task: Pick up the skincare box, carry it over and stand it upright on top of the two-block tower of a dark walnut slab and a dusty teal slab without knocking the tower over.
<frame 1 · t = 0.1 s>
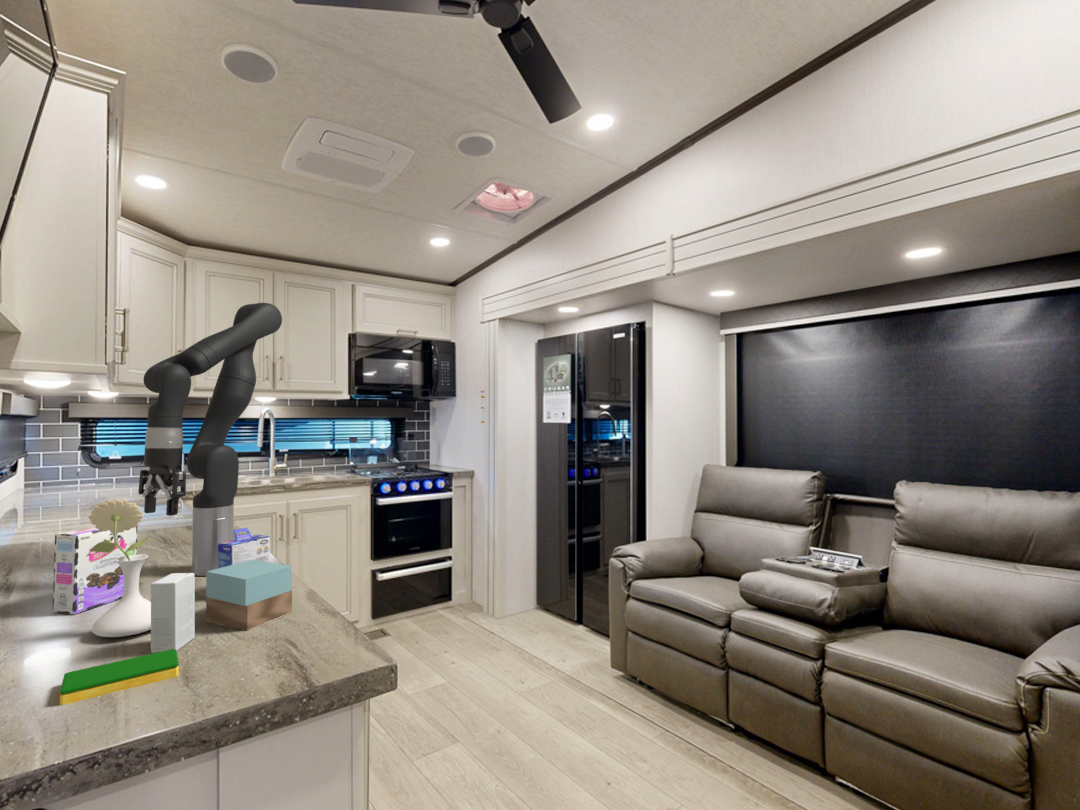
hand: (160, 514, 128), 17 cm above the worktop, tool pointing down, fingers open, 8 cm apart
tower base block: (249, 618, 107), on the worktop
tower top block: (249, 593, 108), point 5 cm above the worktop
flower in vase: (125, 632, 100), on the worktop
dish sponge: (122, 685, 81), on the worktop
ink cartridge box: (244, 593, 123), on the worktop
skincare box: (172, 647, 94), on the worktop
candy box: (96, 604, 116), on the worktop
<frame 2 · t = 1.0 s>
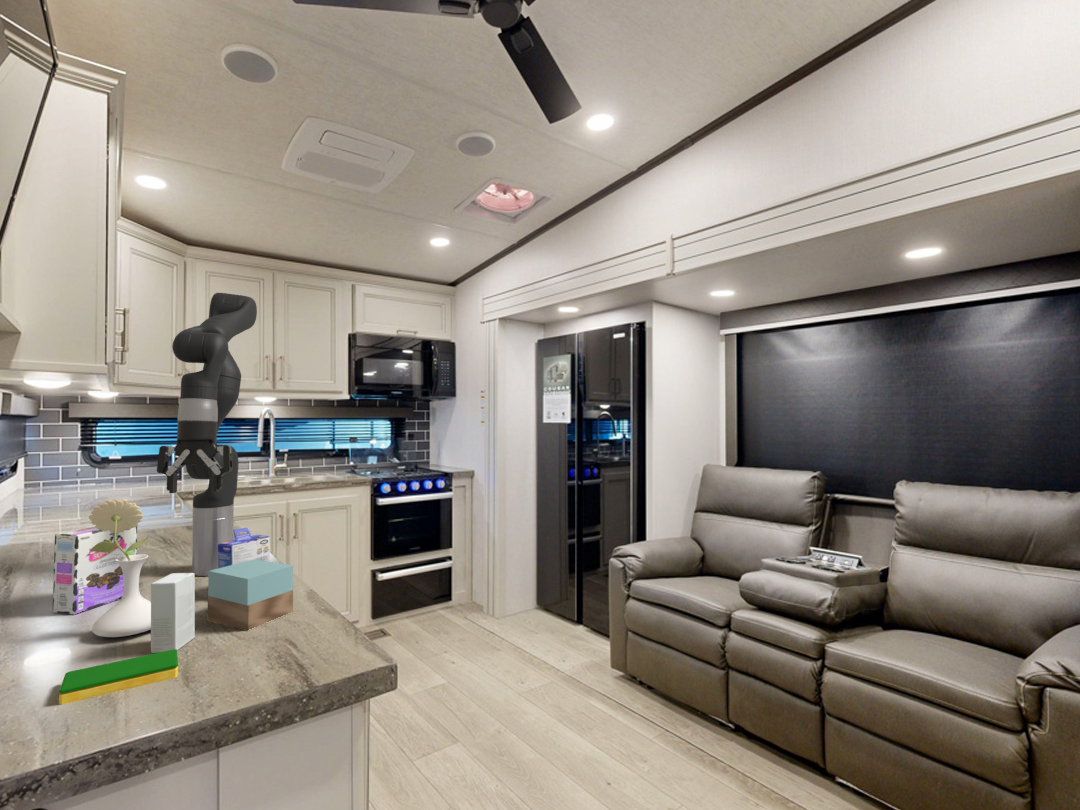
hand: (194, 492, 118), 24 cm above the worktop, tool pointing down, fingers open, 8 cm apart
tower base block: (250, 618, 108), on the worktop, touching tower top block
tower top block: (251, 593, 108), point 5 cm above the worktop, touching tower base block
everything else where it was.
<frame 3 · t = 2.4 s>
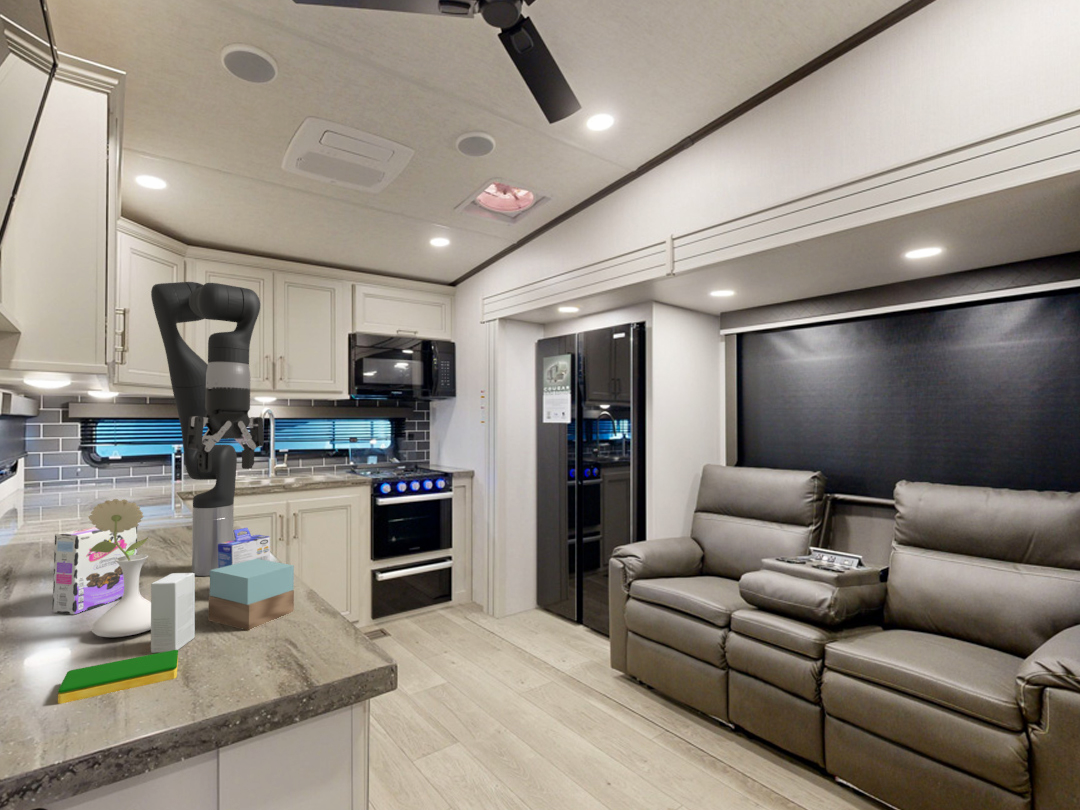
hand: (227, 470, 103), 30 cm above the worktop, tool pointing down, fingers open, 8 cm apart
nothing on the worktop moved.
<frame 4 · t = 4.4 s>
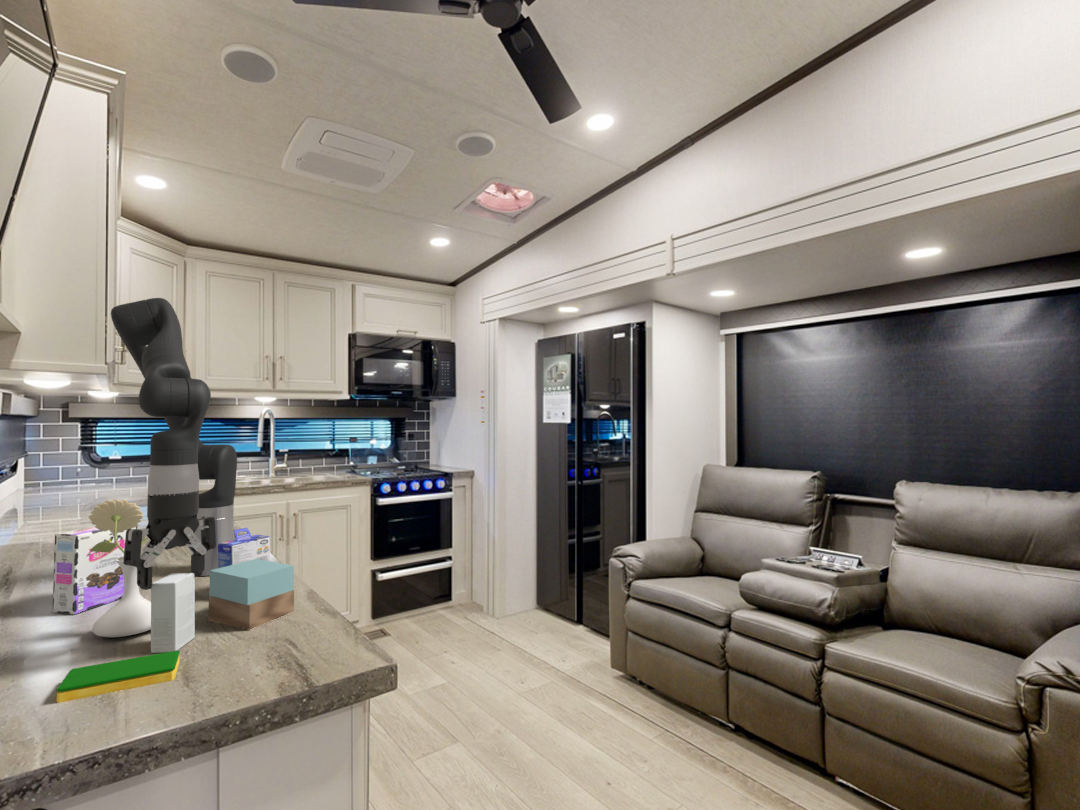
hand: (172, 581, 94), 11 cm above the worktop, tool pointing down, fingers open, 8 cm apart
nothing on the worktop moved.
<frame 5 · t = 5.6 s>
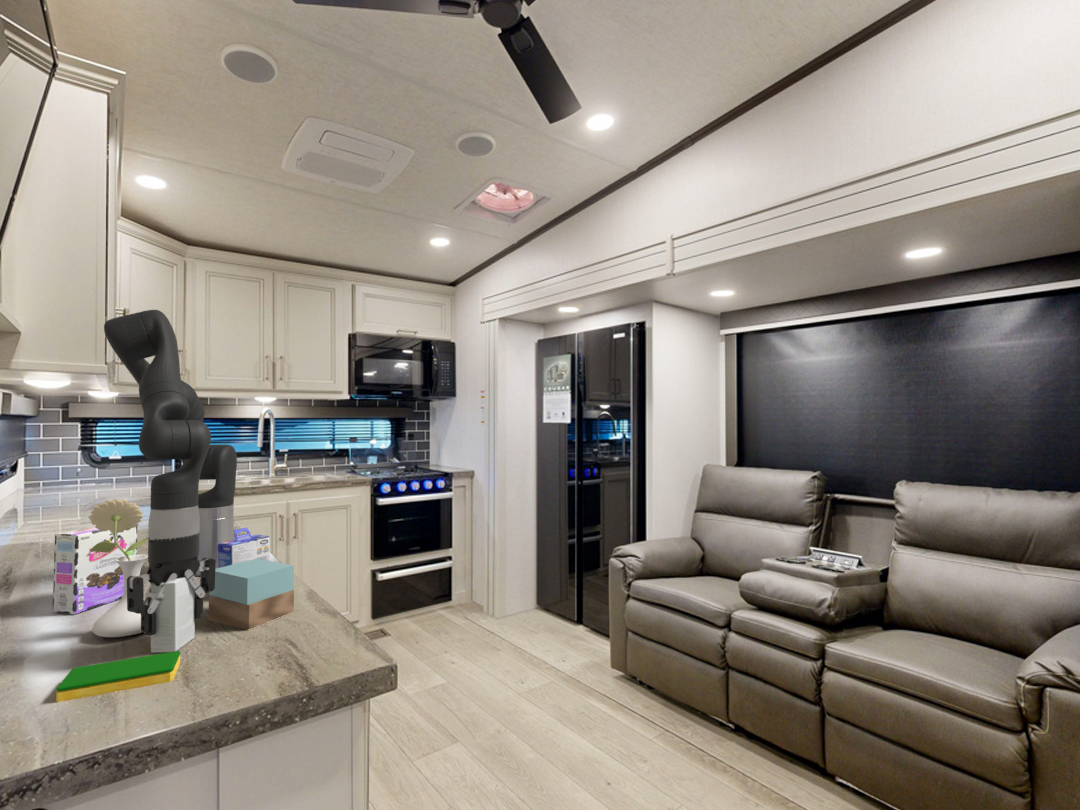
hand: (173, 626, 94), 3 cm above the worktop, tool pointing down, fingers closed on skincare box, 7 cm apart
skincare box: (172, 646, 94), on the worktop, touching gripper
everything else where it was.
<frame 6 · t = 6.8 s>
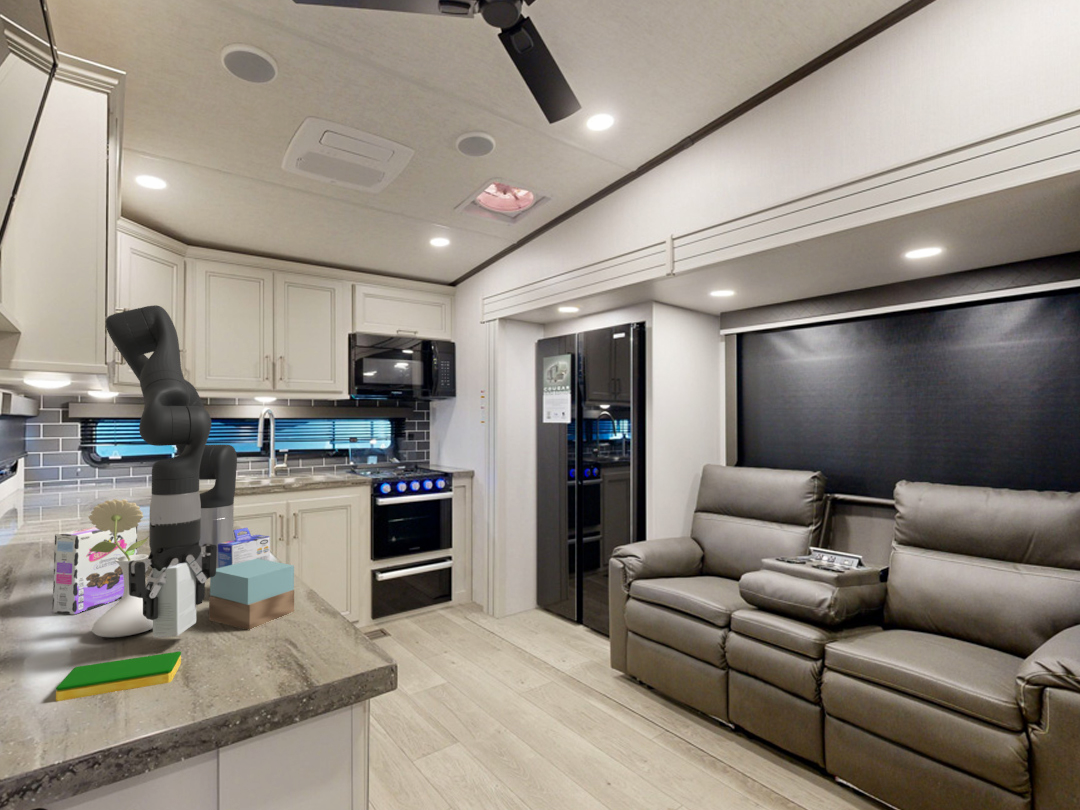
hand: (174, 610, 94), 6 cm above the worktop, tool pointing down, fingers closed on skincare box, 7 cm apart
skincare box: (174, 631, 94), point 2 cm above the worktop, touching gripper
everything else where it was.
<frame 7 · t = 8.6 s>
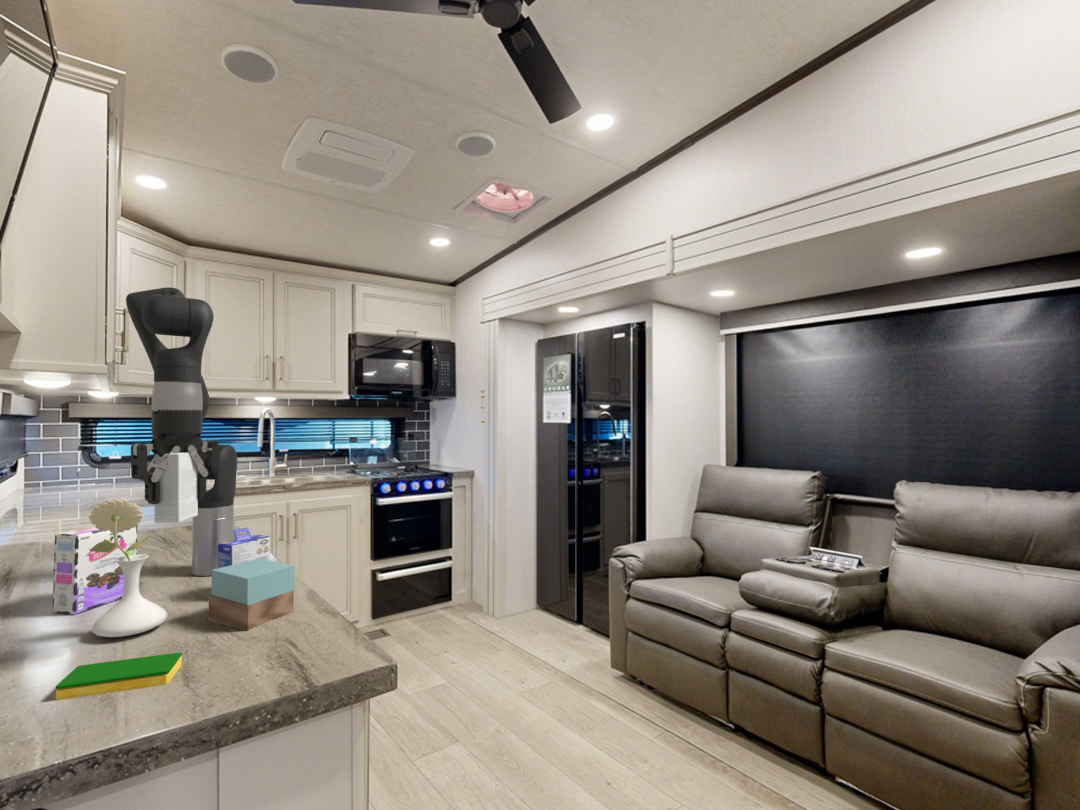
hand: (176, 500, 95), 26 cm above the worktop, tool pointing down, fingers closed on skincare box, 7 cm apart
skincare box: (176, 520, 95), point 22 cm above the worktop, touching gripper
when the fingers open (15 cm above the worktop, at t = 12.0 s): skincare box drops 1 cm, resting on tower top block.
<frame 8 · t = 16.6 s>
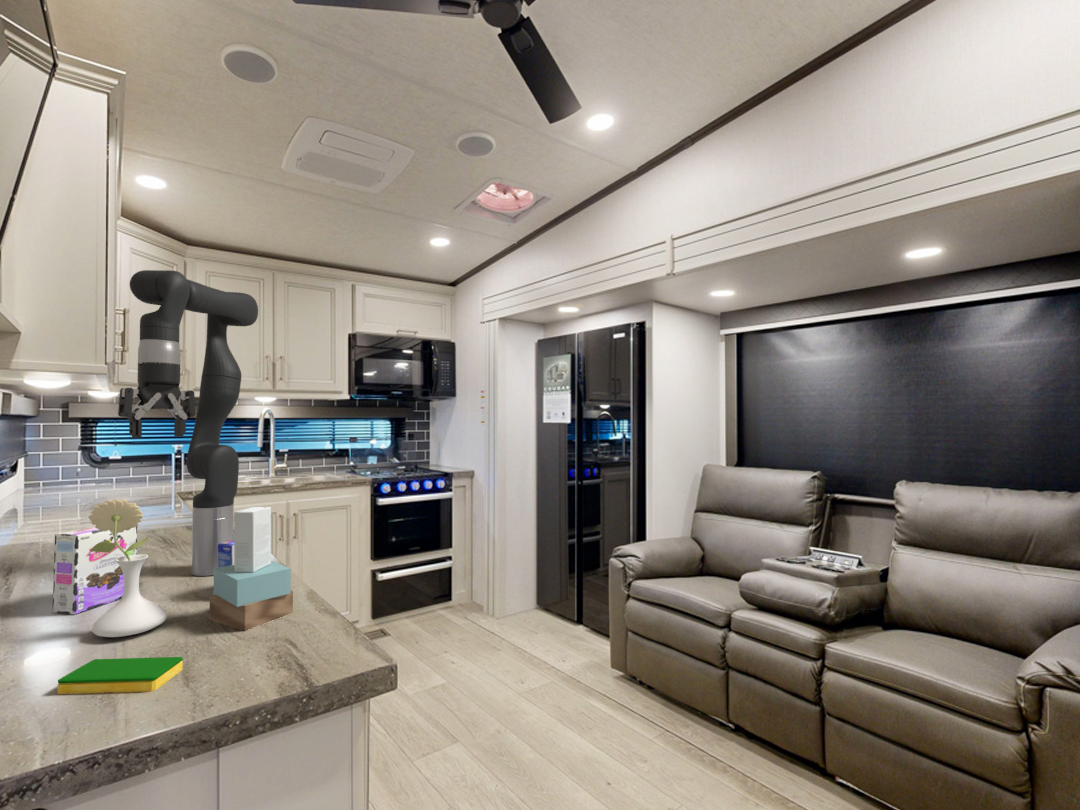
hand: (158, 437, 115), 36 cm above the worktop, tool pointing down, fingers open, 8 cm apart
tower base block: (251, 618, 108), on the worktop
tower top block: (252, 593, 108), point 5 cm above the worktop, touching skincare box
skincare box: (252, 569, 108), point 9 cm above the worktop, touching tower top block
at the end: skincare box 0.1 cm off-centre on the tower top block, point 4.8 cm above the tower top block's base; skincare box tilted 0°; tower top block 0.3 cm from the target spot, point 4.6 cm above the worktop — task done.
